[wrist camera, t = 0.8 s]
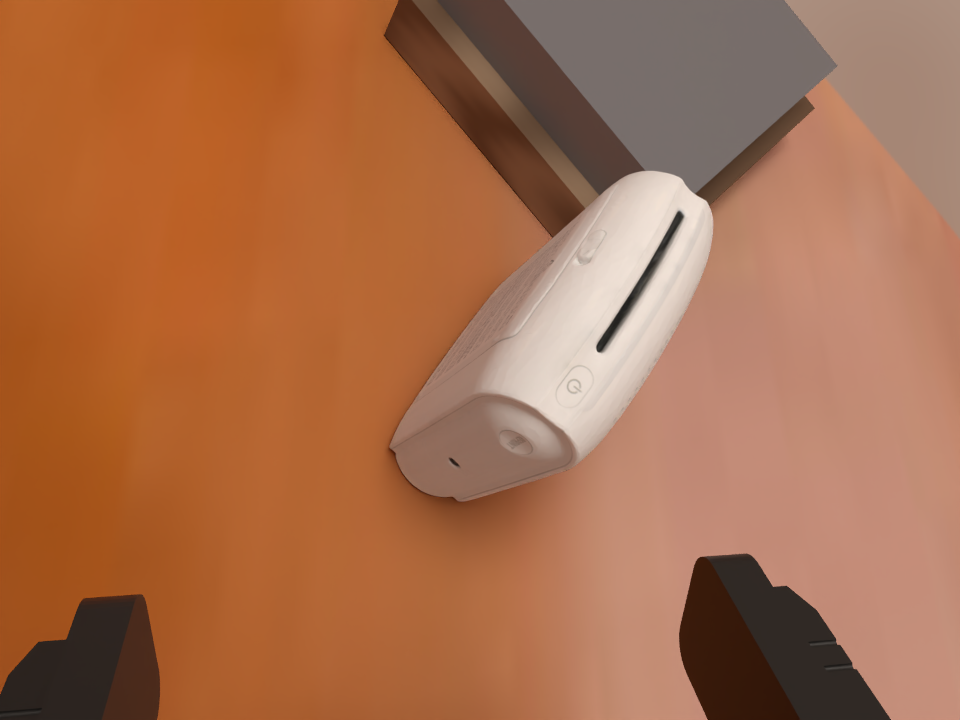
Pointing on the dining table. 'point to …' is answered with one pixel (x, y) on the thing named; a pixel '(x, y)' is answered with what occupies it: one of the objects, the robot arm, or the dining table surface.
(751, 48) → the top brick
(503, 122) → the base brick
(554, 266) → the photo printer
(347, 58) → the dining table surface
